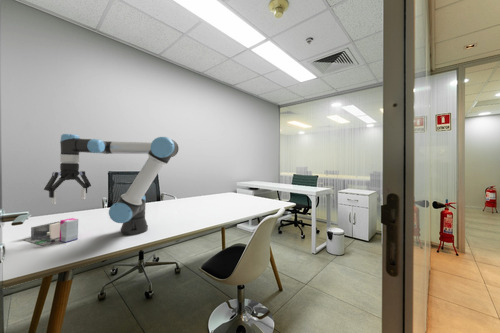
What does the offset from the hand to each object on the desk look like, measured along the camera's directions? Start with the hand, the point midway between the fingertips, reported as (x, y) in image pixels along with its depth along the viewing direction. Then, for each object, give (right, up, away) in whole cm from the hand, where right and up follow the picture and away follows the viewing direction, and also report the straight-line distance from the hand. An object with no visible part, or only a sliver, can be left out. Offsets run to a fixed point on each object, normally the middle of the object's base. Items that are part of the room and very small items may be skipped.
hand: (69, 201), depth 108 cm
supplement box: (-1, -22, +1) cm, 22 cm away
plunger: (-13, -21, +2) cm, 24 cm away
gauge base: (-13, -21, +3) cm, 25 cm away
